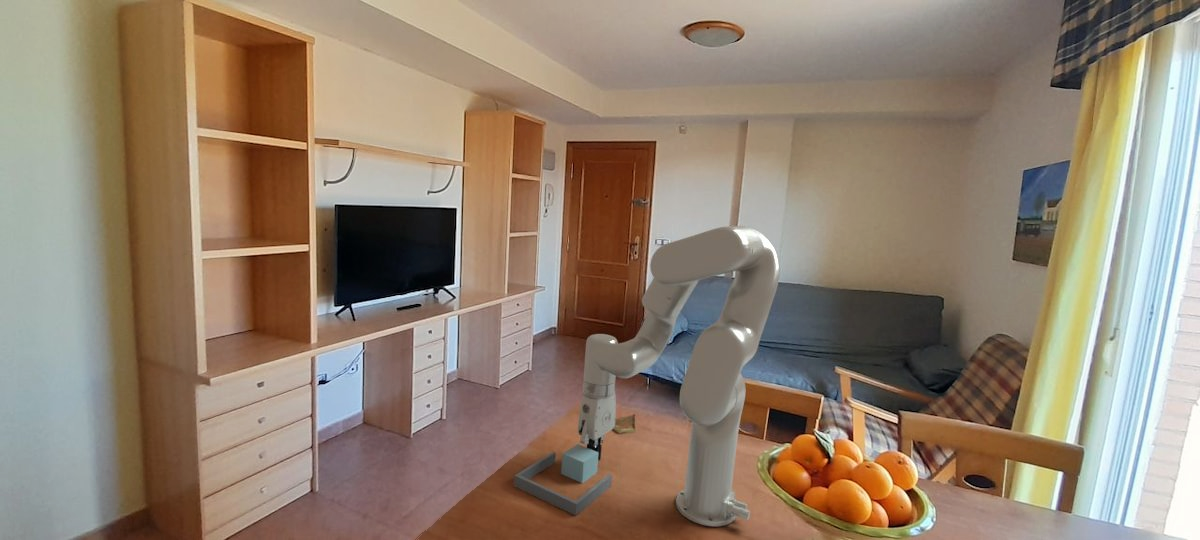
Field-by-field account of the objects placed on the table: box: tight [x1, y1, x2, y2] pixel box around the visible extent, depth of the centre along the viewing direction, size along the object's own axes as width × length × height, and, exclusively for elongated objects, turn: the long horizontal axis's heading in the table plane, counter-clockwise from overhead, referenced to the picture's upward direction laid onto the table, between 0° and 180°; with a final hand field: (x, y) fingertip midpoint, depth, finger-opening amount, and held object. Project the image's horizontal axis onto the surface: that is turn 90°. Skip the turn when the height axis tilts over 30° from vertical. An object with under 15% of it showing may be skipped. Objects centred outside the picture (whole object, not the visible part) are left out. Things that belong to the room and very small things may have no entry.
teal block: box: [560, 443, 599, 484], centre depth 117 cm, size 6×6×5 cm
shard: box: [612, 413, 636, 434], centre depth 143 cm, size 11×8×2 cm
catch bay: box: [513, 450, 613, 516], centre depth 111 cm, size 17×14×2 cm
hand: (593, 459), depth 121 cm, fingers closed
